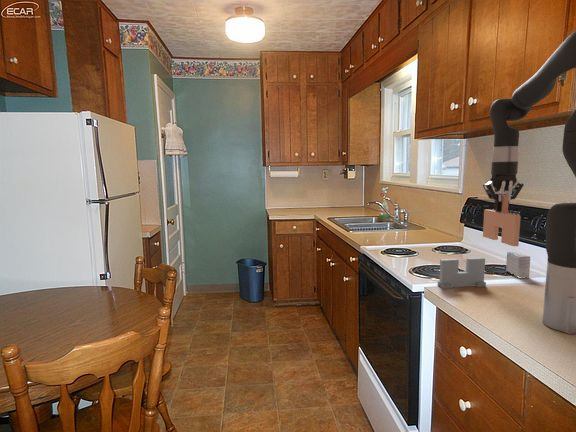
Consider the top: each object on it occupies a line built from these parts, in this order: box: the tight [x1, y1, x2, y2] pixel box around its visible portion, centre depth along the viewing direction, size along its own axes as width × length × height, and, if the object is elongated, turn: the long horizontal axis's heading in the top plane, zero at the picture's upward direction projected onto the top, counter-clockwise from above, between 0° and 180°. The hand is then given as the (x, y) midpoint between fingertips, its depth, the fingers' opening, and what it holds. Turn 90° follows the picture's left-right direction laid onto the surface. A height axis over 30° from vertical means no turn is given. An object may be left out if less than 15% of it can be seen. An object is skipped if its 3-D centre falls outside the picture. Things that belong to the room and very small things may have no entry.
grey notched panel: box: [437, 257, 487, 290], centre depth 127 cm, size 16×4×10 cm, turn 96°
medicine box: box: [505, 251, 531, 278], centre depth 138 cm, size 8×4×9 cm, turn 179°
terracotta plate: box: [482, 195, 522, 247], centre depth 121 cm, size 16×2×16 cm, turn 5°
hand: (501, 211), depth 120 cm, fingers closed on terracotta plate, 1 cm apart
